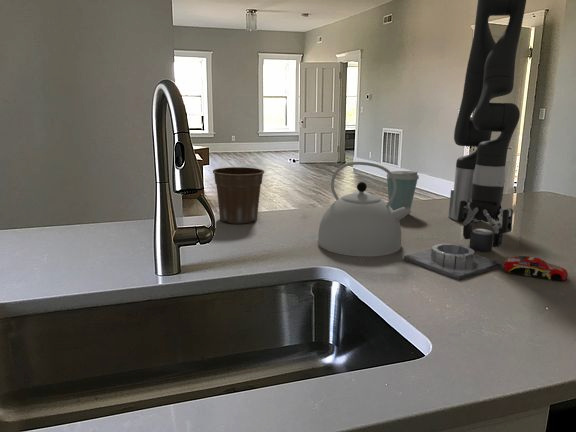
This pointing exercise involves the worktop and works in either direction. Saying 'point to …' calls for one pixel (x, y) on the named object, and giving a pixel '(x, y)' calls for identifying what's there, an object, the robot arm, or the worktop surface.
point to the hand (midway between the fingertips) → (481, 242)
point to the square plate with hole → (452, 261)
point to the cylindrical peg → (481, 240)
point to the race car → (534, 268)
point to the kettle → (361, 222)
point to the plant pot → (238, 193)
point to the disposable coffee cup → (402, 188)
